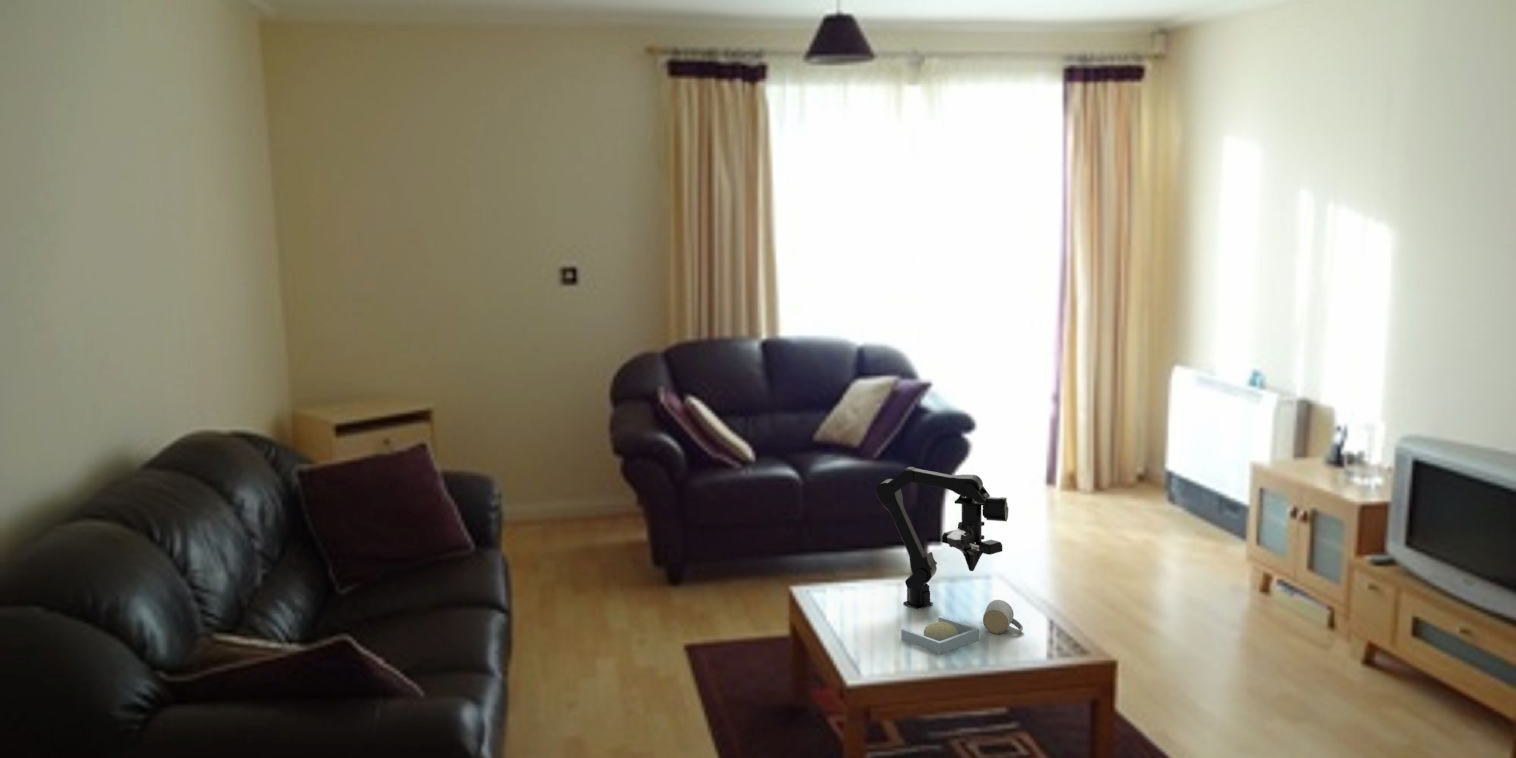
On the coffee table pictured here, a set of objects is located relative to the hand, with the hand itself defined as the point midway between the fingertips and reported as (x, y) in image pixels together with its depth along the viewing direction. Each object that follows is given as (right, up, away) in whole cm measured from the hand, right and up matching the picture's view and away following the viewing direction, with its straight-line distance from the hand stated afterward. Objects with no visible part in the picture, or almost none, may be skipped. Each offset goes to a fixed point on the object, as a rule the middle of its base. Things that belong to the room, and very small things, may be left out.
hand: (971, 570), depth 311 cm
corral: (-13, -15, -21) cm, 29 cm away
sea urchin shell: (-13, -15, -22) cm, 30 cm away
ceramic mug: (+6, -14, -15) cm, 22 cm away
